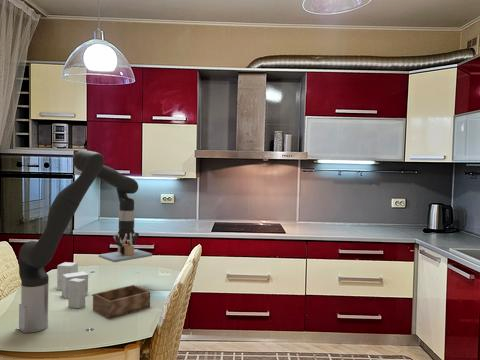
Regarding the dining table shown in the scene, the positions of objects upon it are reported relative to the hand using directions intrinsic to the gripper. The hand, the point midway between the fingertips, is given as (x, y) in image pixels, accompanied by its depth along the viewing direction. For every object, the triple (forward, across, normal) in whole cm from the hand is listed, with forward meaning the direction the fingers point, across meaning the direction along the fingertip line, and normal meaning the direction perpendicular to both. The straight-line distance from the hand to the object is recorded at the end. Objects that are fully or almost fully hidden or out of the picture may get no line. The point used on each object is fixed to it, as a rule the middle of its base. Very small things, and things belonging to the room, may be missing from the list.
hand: (125, 253), depth 195 cm
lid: (+1, 0, 0) cm, 1 cm away
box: (+20, -13, -19) cm, 30 cm away
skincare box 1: (+20, -20, +12) cm, 31 cm away
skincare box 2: (+20, -26, -3) cm, 33 cm away
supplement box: (+20, -18, +25) cm, 37 cm away
